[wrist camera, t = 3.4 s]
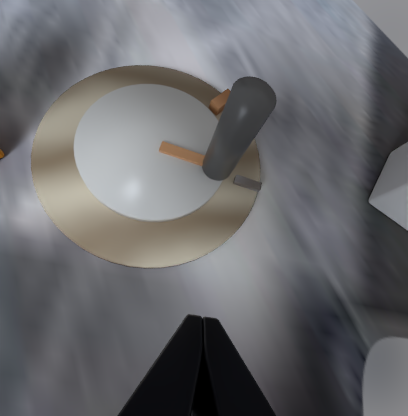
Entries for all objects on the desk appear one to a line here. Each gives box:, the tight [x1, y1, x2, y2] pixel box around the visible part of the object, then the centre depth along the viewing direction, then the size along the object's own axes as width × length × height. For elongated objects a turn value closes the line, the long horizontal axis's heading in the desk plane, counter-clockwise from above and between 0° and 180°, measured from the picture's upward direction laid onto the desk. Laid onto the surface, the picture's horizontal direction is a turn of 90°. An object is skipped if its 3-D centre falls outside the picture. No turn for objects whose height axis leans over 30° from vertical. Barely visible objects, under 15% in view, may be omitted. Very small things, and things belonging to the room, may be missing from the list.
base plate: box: [31, 65, 262, 268], centre depth 22 cm, size 18×18×2 cm
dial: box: [74, 77, 276, 222], centre depth 18 cm, size 12×12×9 cm
